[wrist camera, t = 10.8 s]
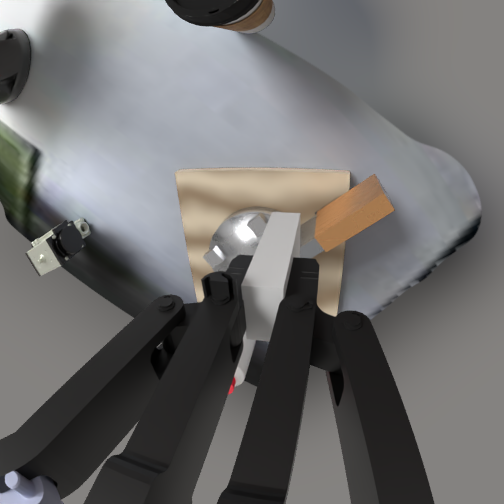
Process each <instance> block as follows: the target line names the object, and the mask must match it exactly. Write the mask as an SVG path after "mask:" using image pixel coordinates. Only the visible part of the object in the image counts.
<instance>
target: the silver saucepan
mask: <svg viewBox="0 0 504 504" xmlns="http://www.w3.org/2000/svg"><path fill="white" fill-rule="evenodd" d="M393 211H394V207H393V205H392V203H391V201H390V199H389V197H388V195H387V193H386V191H385V189H384V187H383V186H382V184H381V183H380V181H379V180H378V178H377V177H376V175H375V174H373V175H372V176H370V177H369V178H367V179H366V180H364V181H363V182H361V183H360V184H358V185H357V186H355V187H354V188H352V189H351V190H349V191H348V192H346V193H345V194H343V195H342V196H340V197H339V198H337V199H336V200H334V201H332V202H331V203H329V204H328V205H326V206H325V207H323V208H322V209H320V210H319V211H317V215H315V216H314V217H312V218H311V219H309V220H308V221H306V222H305V223H303V224H302V225H300V258H312V257H314V256H316V255H317V254H319V253H321V252H322V251H324V250H325V252H328V251H329V250H331V249H333V248H334V247H336V246H338V245H339V244H341V243H343V242H344V241H346V240H348V239H349V238H351V237H352V236H354V235H356V234H357V233H359V232H361V231H362V230H364V229H366V228H367V227H369V226H370V225H372V224H374V223H375V222H377V221H378V220H380V219H382V218H383V217H385V216H386V215H388V214H390V213H391V212H393ZM272 212H280V211H278V210H275V209H272V208H268V207H260V206H255V207H247V208H243V209H240V210H237V211H235V212H233V213H232V214H230V215H229V216H228V217H227V218H226V219H225V220H224V221H223V222H222V223H221V225H220V226H219V227H218V229H217V230H216V232H215V233H214V235H213V237H212V239H211V242H210V246H209V251H207V252H206V253H205V254H204V256H203V258H204V259H205V260H206V261H207V263H208V264H209V265H210V266H211V267H212V269H213V271H214V272H216V271H225V272H226V270H227V268H228V266H229V264H230V262H231V261H232V260H233V259H234V258H235V257H237V256H238V255H253V256H254V254H255V251H256V249H257V247H258V244H259V242H260V240H261V237H262V235H263V233H264V230H265V228H266V225H267V223H268V221H269V218H270V216H271V214H272Z"/></svg>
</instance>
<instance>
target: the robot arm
mask: <svg viewBox="0 0 504 504" xmlns="http://www.w3.org/2000/svg"><path fill="white" fill-rule="evenodd" d="M30 57H31V53H30V44H29V40H28V37H27V35H26V34H25V33H24V32H23V31H22V30H20V29H8V30H5V31H2V32H0V104H5V103H8V102H11V101H13V100H14V99H16V98H17V97H18V95H19V94H20V93H21V91H22V89H23V87H24V85H25V82H26V80H27V76H28V72H29V67H30ZM319 266H320V265H319V264H318V262H317V260H316V259H313V258H300V213H286V212H272V214H271V216H270V218H269V221H268V223H267V225H266V228H265V230H264V233H263V235H262V237H261V240H260V242H259V244H258V247H257V249H256V251H255V254H254V256H253V255H238V256H237V257H235V258H234V259H233V260H232V261H231V262H230V264H229V266H228V268H227V270H226V272H225V271H216V272H212V273H209V274H207V275H205V276H204V277H203V278H202V279H201V282H202V287H203V293H204V299H203V301H202V302H197V303H190V304H184V303H183V300H182V299H181V298H180V297H178V296H177V295H164V296H161V297H159V298H157V299H156V300H154V301H153V302H152V303H151V304H150V305H149V306H147V307H146V308H145V309H144V310H143V311H142V312H141V313H140V314H139V315H138V316H136V317H135V318H134V319H133V320H132V321H131V322H130V323H129V324H128V325H127V326H126V327H124V328H123V330H121V331H120V332H119V333H118V334H117V335H116V336H115V337H114V338H113V339H112V340H110V341H109V342H108V343H107V344H106V345H105V346H104V347H103V348H102V349H101V350H100V351H99V352H98V353H97V354H95V355H94V356H93V357H92V358H91V359H90V360H89V361H88V362H87V363H86V364H85V365H84V366H83V367H82V368H81V369H80V370H79V371H77V372H76V373H75V374H74V375H73V376H72V377H71V378H70V379H69V380H68V381H67V382H66V383H65V384H64V385H63V386H62V387H61V388H60V389H59V390H58V391H57V392H56V393H55V394H54V395H53V396H52V397H51V398H50V399H48V401H46V402H45V403H44V404H43V405H42V406H41V407H40V408H39V409H38V410H37V411H36V412H35V413H34V414H33V415H32V416H31V417H30V418H29V419H28V420H27V421H26V422H25V423H24V424H23V425H22V426H21V427H20V428H19V429H18V430H17V431H16V432H15V433H13V434H11V435H9V436H7V437H5V438H3V439H1V440H0V504H64V503H63V502H62V501H61V499H63V498H65V497H66V496H68V495H70V494H71V493H72V492H74V491H75V490H76V489H78V488H79V487H80V486H81V485H82V484H83V483H84V482H85V481H86V480H87V479H88V478H89V477H90V476H91V475H92V473H93V472H94V471H95V470H96V469H97V468H98V467H99V466H100V464H101V463H102V462H103V461H104V460H105V459H106V458H107V456H108V455H109V454H110V453H111V452H112V451H113V450H114V448H115V447H116V446H117V445H118V444H119V443H120V442H121V440H122V439H123V438H124V437H125V436H126V435H127V434H128V432H129V431H130V430H131V429H132V428H133V427H134V425H135V424H136V423H137V422H138V421H139V422H138V424H137V426H136V428H135V430H134V432H133V434H132V436H131V438H130V439H129V441H128V443H127V445H126V447H125V449H124V451H123V452H122V453H121V454H119V455H114V456H111V457H110V458H109V459H107V461H106V462H105V464H104V465H103V467H102V469H101V471H100V473H99V474H98V476H97V478H96V480H95V482H94V484H93V486H92V488H91V490H90V492H89V494H88V496H87V498H86V500H85V502H84V504H192V495H193V492H194V489H195V486H196V483H197V480H198V478H199V475H200V472H201V469H202V467H203V464H204V461H205V458H206V456H207V453H208V450H209V447H210V444H211V442H212V439H213V436H214V433H215V430H216V427H217V424H218V421H219V419H220V416H221V413H222V410H223V407H224V404H225V401H226V398H227V396H228V393H229V390H230V387H231V384H232V381H233V378H234V375H235V372H236V369H237V366H238V363H239V360H240V357H241V354H242V351H243V346H244V343H243V337H244V334H245V331H246V338H247V339H251V340H260V341H269V346H268V349H267V353H266V357H265V361H264V364H263V368H262V372H261V376H260V379H259V383H258V386H257V390H256V394H255V397H254V401H253V404H252V408H251V412H250V415H249V418H248V422H247V425H246V429H245V432H244V435H243V439H242V442H241V445H240V449H239V452H238V456H237V459H236V462H235V465H234V469H233V472H232V475H231V478H230V481H229V484H228V486H227V488H226V489H225V490H224V491H223V492H222V493H221V495H220V497H219V499H218V502H217V504H286V499H287V495H288V490H289V485H290V480H291V476H292V471H293V465H294V460H295V455H296V450H297V444H298V439H299V433H300V427H301V421H302V415H303V409H304V402H305V396H306V388H307V382H308V375H309V368H310V365H313V366H315V367H318V368H321V369H323V370H326V376H327V381H328V385H329V390H330V394H331V399H332V404H333V409H334V413H335V418H336V423H337V428H338V433H339V438H340V444H341V449H342V454H343V459H344V465H345V470H346V476H347V481H348V487H349V492H350V499H351V504H434V501H433V497H432V493H431V490H430V486H429V482H428V479H427V475H426V472H425V468H424V465H423V462H422V458H421V455H420V452H419V449H418V446H417V443H416V440H415V436H414V433H413V431H412V428H411V425H410V422H409V419H408V416H407V413H406V410H405V408H404V405H403V402H402V399H401V396H400V394H399V391H398V388H397V386H396V383H395V381H394V378H393V375H392V373H391V370H390V367H389V365H388V363H387V360H386V358H385V355H384V352H383V350H382V348H381V345H380V343H379V340H378V338H377V335H376V333H375V331H374V328H373V326H372V324H371V321H370V320H369V318H368V317H367V316H366V315H364V314H363V313H360V312H357V311H344V312H341V313H339V314H338V315H336V317H335V316H332V315H329V314H327V313H325V312H323V311H322V310H321V309H320V308H319V307H318V305H317V294H318V281H319ZM160 343H162V344H161V345H160V346H159V347H157V346H158V345H159V344H160Z"/></svg>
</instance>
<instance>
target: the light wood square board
mask: <svg viewBox="0 0 504 504" xmlns="http://www.w3.org/2000/svg"><path fill="white" fill-rule="evenodd" d="M175 177H176V184H177V191H178V197H179V204H180V210H181V216H182V222H183V228H184V234H185V239H186V245H187V250H188V256H189V261H190V266H191V272H192V277H193V282H194V287H195V292H196V297H197V301H198V302H202V301H203V299H204V293H203V287H202V282H201V279H202V278H203V277H204V276H205V275H207V274H209V273H212V272H214V271H213V269H212V267H211V266H210V265H209V264H208V263H207V261H206V260H205V259H204V258H203V256H204V254H205V253H206V252H207V251H209V246H210V242H211V239H212V237H213V235H214V233H215V232H216V230H217V229H218V227H219V226H220V225H221V223H222V222H223V221H224V220H225V219H226V218H227V217H228V216H229V215H230V214H232V213H233V212H235V211H237V210H240V209H243V208H247V207H255V206H260V207H268V208H272V209H275V210H278V211H280V212H286V213H300V225H302V224H303V223H305V222H306V221H308V220H309V219H311V218H312V217H314V216H315V215H317V211H319V210H320V209H322V208H323V207H325V206H326V205H328V204H329V203H331V202H332V201H334V200H336V199H337V198H339V197H340V196H342V195H343V194H345V193H346V192H348V191H349V186H350V172H349V171H346V170H327V169H302V168H202V169H179V170H178V171H176V172H175ZM344 252H345V241H344V242H343V243H341V244H339V245H338V246H336V247H334V248H333V249H331V250H329V251H328V252H325V250H324V251H322V252H321V253H319V254H317V255H316V256H314V257H312V258H313V259H316V260H317V262H318V264H319V265H320V266H319V281H318V294H317V305H318V307H319V308H320V309H321V310H322V311H323V312H325V313H327V314H329V315H332V316H335V317H336V315H337V310H338V303H339V295H340V287H341V279H342V270H343V261H344Z"/></svg>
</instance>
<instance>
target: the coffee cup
mask: <svg viewBox="0 0 504 504" xmlns="http://www.w3.org/2000/svg"><path fill="white" fill-rule="evenodd" d="M165 1H166V3H167V4H168V6H169V7H170V8H171V9H172V10H173V11H174V13H175V14H177V15H178V16H179V17H180V18H182V19H183V20H185V21H187V22H189V23H191V24H195V25H198V26H213V27H218V28H223V29H228V30H233V31H237V32H241V33H246V34H251V33H257V32H260V31H262V30H264V29H265V28H266V27H268V26H269V25H270V23H271V22H272V21H273V19H274V15H275V7H274V4H273V1H272V0H165Z"/></svg>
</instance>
